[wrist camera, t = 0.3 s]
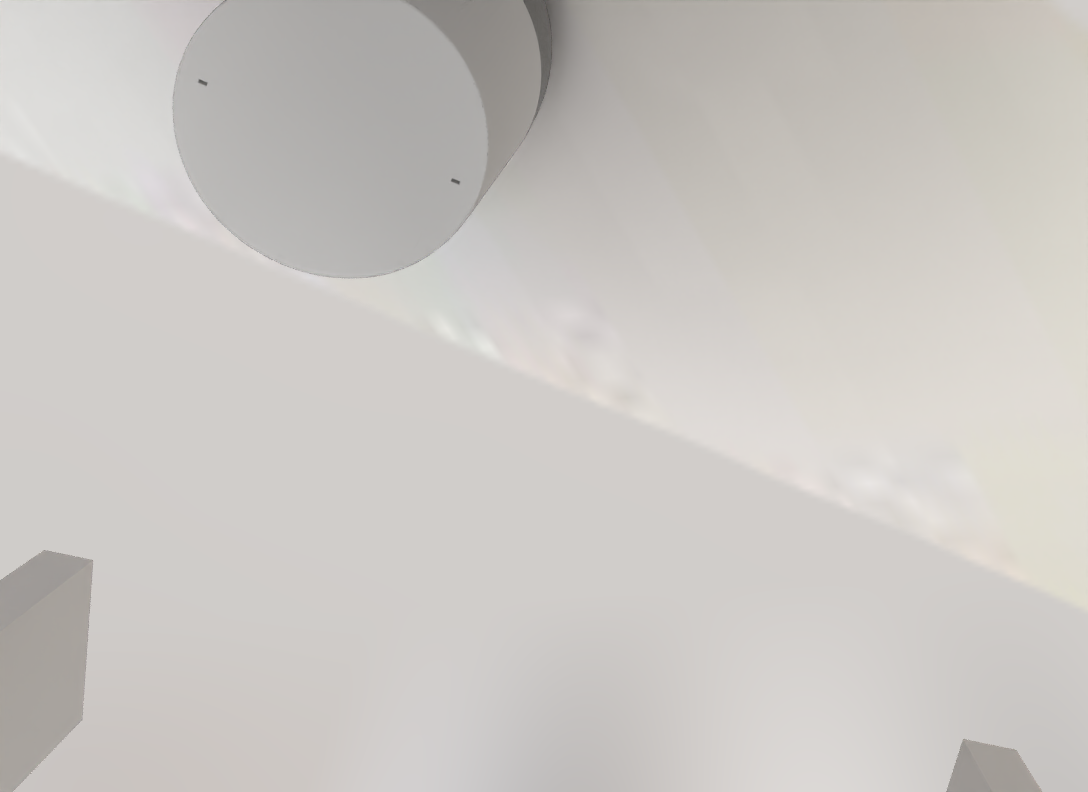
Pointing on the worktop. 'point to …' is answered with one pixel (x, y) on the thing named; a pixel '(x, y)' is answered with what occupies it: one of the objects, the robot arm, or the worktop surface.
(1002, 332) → the worktop surface
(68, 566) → the robot arm
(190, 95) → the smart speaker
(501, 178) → the worktop surface
